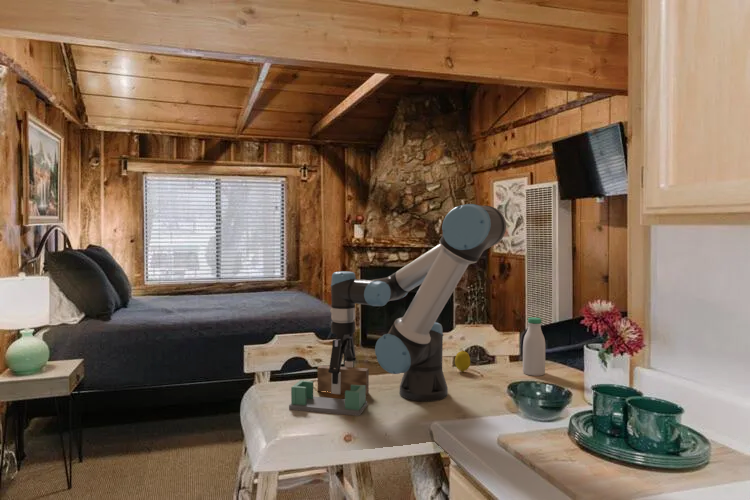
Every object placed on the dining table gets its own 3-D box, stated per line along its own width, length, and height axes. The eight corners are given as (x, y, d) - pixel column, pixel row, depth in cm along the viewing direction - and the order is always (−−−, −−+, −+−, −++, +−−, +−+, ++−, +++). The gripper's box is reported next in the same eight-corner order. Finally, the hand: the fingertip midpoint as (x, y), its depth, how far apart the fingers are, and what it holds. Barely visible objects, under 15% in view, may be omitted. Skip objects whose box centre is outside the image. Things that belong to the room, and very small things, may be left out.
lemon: (451, 372, 191) (452, 350, 191) (460, 369, 195) (460, 347, 195) (464, 375, 188) (465, 352, 187) (473, 372, 192) (473, 350, 191)
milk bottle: (547, 376, 186) (548, 320, 185) (525, 376, 186) (526, 320, 186) (541, 370, 194) (542, 316, 193) (520, 370, 194) (521, 316, 193)
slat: (368, 393, 167) (368, 368, 167) (366, 396, 164) (366, 371, 164) (320, 389, 171) (320, 365, 171) (317, 392, 168) (317, 367, 168)
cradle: (367, 405, 156) (367, 384, 156) (359, 415, 147) (359, 393, 147) (300, 399, 161) (300, 379, 161) (289, 409, 152) (289, 388, 152)
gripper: (343, 313, 180) (343, 375, 181) (318, 327, 156) (317, 398, 157) (364, 314, 178) (364, 376, 179) (342, 328, 154) (342, 400, 155)
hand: (342, 387), depth 168 cm, fingers open, 13 cm apart
